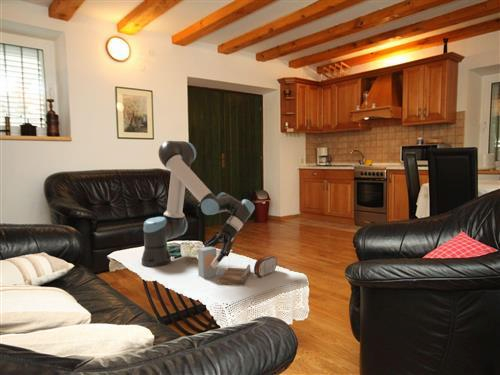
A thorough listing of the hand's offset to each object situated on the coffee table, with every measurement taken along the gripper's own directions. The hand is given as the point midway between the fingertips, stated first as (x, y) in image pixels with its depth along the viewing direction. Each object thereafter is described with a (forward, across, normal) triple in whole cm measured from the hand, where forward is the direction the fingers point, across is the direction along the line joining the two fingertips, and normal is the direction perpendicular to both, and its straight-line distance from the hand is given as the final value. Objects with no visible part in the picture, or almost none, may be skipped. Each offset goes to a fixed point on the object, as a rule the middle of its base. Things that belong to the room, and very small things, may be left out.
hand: (205, 263), depth 164 cm
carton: (+4, 0, -5) cm, 6 cm away
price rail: (-6, -13, -13) cm, 20 cm away
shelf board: (-3, -10, -12) cm, 15 cm away
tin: (-12, -15, -22) cm, 29 cm away
